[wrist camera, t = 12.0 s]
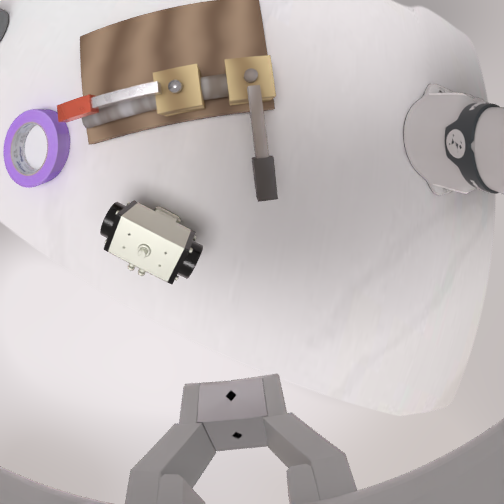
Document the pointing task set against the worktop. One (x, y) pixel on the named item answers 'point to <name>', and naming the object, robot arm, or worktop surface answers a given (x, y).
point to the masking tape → (55, 147)
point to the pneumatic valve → (150, 241)
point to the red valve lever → (110, 99)
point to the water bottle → (3, 22)
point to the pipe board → (168, 52)
